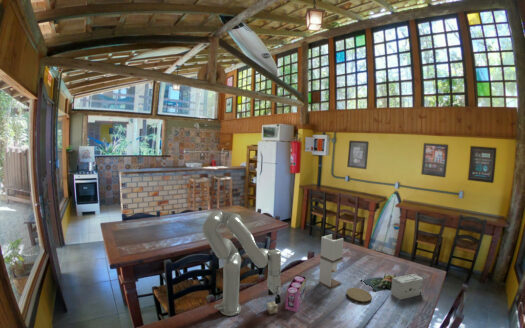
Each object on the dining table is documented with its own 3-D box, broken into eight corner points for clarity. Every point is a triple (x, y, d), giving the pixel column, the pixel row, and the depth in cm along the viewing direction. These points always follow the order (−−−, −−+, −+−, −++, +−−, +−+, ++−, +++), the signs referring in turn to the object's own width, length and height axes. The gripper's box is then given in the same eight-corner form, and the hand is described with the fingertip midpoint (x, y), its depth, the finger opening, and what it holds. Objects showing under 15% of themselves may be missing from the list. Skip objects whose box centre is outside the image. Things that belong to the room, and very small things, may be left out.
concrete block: (412, 290, 193) (414, 263, 191) (423, 297, 185) (425, 268, 183) (390, 295, 185) (392, 267, 184) (400, 302, 177) (402, 272, 176)
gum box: (296, 313, 161) (297, 293, 160) (284, 310, 164) (285, 290, 163) (305, 295, 181) (306, 276, 180) (294, 292, 184) (295, 274, 183)
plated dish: (389, 274, 219) (390, 265, 218) (420, 292, 192) (421, 282, 192) (354, 279, 207) (354, 270, 207) (381, 299, 181) (381, 289, 180)
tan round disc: (355, 306, 171) (355, 302, 170) (341, 293, 186) (341, 289, 186) (376, 303, 175) (377, 299, 175) (361, 290, 190) (361, 286, 190)
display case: (331, 290, 189) (334, 241, 186) (318, 283, 197) (321, 236, 194) (340, 285, 196) (343, 238, 193) (328, 279, 204) (331, 234, 202)
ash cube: (270, 314, 159) (270, 306, 159) (267, 309, 163) (267, 302, 163) (277, 312, 161) (277, 305, 161) (273, 308, 165) (274, 301, 165)
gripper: (263, 266, 167) (262, 293, 168) (275, 279, 151) (274, 308, 152) (273, 264, 170) (273, 290, 171) (286, 276, 154) (286, 305, 155)
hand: (274, 299), depth 162 cm, fingers open, 9 cm apart
